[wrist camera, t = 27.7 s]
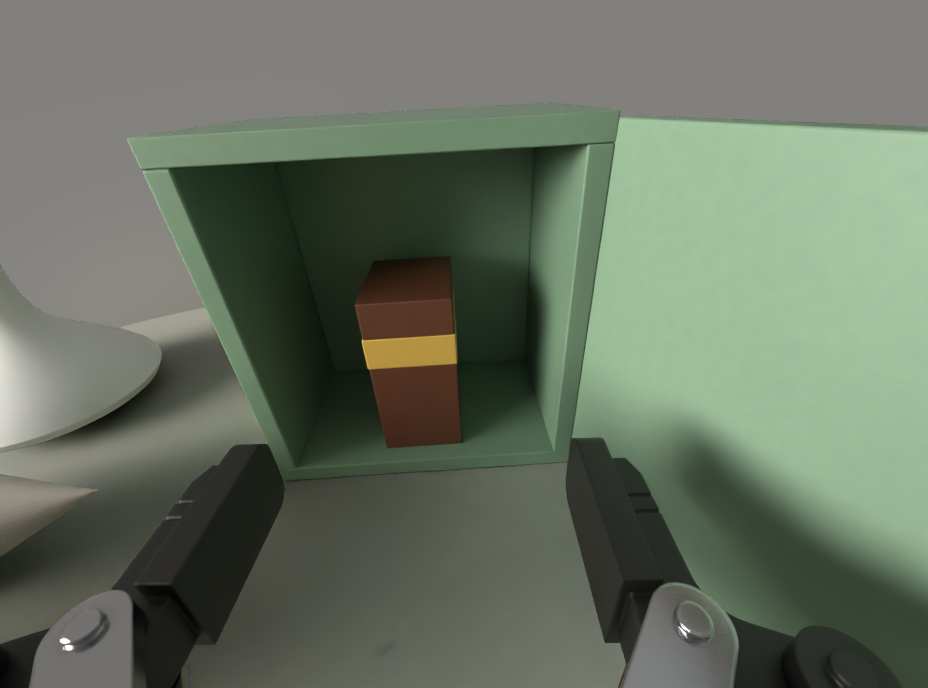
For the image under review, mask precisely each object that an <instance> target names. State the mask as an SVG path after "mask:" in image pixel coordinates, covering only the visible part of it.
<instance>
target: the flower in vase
mask: <svg viewBox="0 0 928 688" xmlns="http://www.w3.org/2000/svg"><path fill="white" fill-rule="evenodd" d="M161 357H162V352H161V349H160V347H159V346H158V345H156V344H155V343H154V342H153V341H151V340H150V339H149V338H147V337H146V336H144V335H141V334H138V333H135V332H131V331H128V330H124V329H121V328H115V327H110V326H105V325H99V324H93V323H87V322H81V321H75V320H70V319H65V318H60V317H57V316H54V315H50V314H47V313H45V312H43V311H41V310H40V309H38V308H36V307H35V306H33V305H32V304H31V303H30V302H29V301H28V300H27V299H26V298H25V297H24V296H23V295H22V294H21V293H20V292H19V290H18V289H17V288H16V287H15V285H14V284H13V283H12V282H11V280H10V279H9V277H8V276H7V274H6V273H5V271H4V270H3V268H2V267H1V265H0V453H1V452H6V451H11V450H16V449H20V448H24V447H28V446H31V445H35V444H38V443H41V442H45V441H48V440H50V439H53V438H56V437H59V436H62V435H64V434H66V433H69V432H71V431H74V430H76V429H78V428H81V427H83V426H85V425H87V424H89V423H91V422H93V421H95V420H97V419H99V418H101V417H103V416H105V415H107V414H108V413H110V412H112V411H113V410H115V409H117V408H118V407H120V406H121V405H123V404H124V403H126V402H127V401H129V400H130V399H132V398H133V397H134V396H135V395H137V394H138V393H139V392H140V391H141V390H143V389H144V388H145V387H146V386H147V385H148V384H149V383H150V382H151V380H152V379H153V378H154V376H155V375H156V373H157V371H158V369H159V366H160V362H161Z"/></svg>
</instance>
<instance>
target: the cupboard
mask: <svg viewBox="0 0 928 688" xmlns="http://www.w3.org/2000/svg"><path fill="white" fill-rule="evenodd" d="M619 117H620V110H619V109H610V108H601V107H590V106H580V105H571V104H560V103H534V104H516V105H498V106H481V107H462V108H444V109H427V110H410V111H391V112H374V113H356V114H338V115H321V116H304V117H285V118H268V119H251V120H244V121H237V122H230V123H223V124H217V125H210V126H203V127H196V128H189V129H182V130H175V131H168V132H161V133H154V134H147V135H140V136H134V137H128V138H127V141H128V143H129V145H130V147H131V149H132V151H133V154H134V156H135V158H136V160H137V162H138V164H139V167H140V168H141V169H142V170H144V171H143V174H144V176H145V178H146V181H147V183H148V185H149V187H150V189H151V191H152V194H153V196H154V198H155V200H156V202H157V204H158V207H159V209H160V211H161V213H162V215H163V218H164V220H165V222H166V224H167V226H168V228H169V231H170V233H171V235H172V237H173V239H174V241H175V243H176V246H177V248H178V250H179V252H180V254H181V257H182V259H183V261H184V263H185V265H186V267H187V270H188V272H189V274H190V276H191V278H192V280H193V283H194V285H195V287H196V289H197V291H198V293H199V295H200V298H201V300H202V302H203V304H204V306H205V309H206V311H207V313H208V315H209V317H210V319H211V322H212V324H213V326H214V328H215V330H216V332H217V335H218V337H219V339H220V341H221V343H222V345H223V348H224V350H225V352H226V354H227V356H228V358H229V361H230V363H231V365H232V367H233V369H234V371H235V374H236V376H237V378H238V380H239V382H240V384H241V387H242V389H243V391H244V393H245V395H246V397H247V400H248V402H249V404H250V406H251V408H252V410H253V413H254V415H255V417H256V419H257V421H258V423H259V426H260V428H261V430H262V432H263V434H264V437H265V439H266V441H267V443H268V445H269V447H270V449H271V451H272V454H273V456H274V458H275V460H276V463H277V465H278V467H279V468H280V471H281V474H282V476H283V478H284V480H286V481H287V480H302V479H317V478H332V477H347V476H362V475H377V474H392V473H407V472H422V471H437V470H452V469H467V468H482V467H497V466H512V465H527V464H542V463H557V462H568V458H569V451H570V444H571V440H572V433H573V426H574V420H575V413H576V406H577V399H578V393H579V386H580V379H581V372H582V365H583V359H584V352H585V345H586V338H587V331H588V325H589V318H590V311H591V304H592V298H593V291H594V284H595V277H596V270H597V264H598V257H599V250H600V243H601V236H602V230H603V223H604V216H605V209H606V203H607V196H608V189H609V182H610V175H611V169H612V162H613V155H614V148H615V144H614V142H615V141H616V137H617V130H618V123H619ZM444 256H450V257H451V271H452V285H453V288H454V301H455V317H456V336H457V354H458V373H459V388H460V407H461V425H462V443H459V444H445V445H430V446H415V447H400V448H387V446H386V442H385V437H384V433H383V428H382V424H381V419H380V415H379V411H378V406H377V402H376V397H375V393H374V388H373V384H372V379H371V375H370V370H369V369H368V367H367V363H366V359H365V354H364V350H363V345H362V335H361V330H360V326H359V321H358V317H357V312H356V308H355V304H356V302H357V299H358V297H359V294H360V292H361V289H362V287H363V285H364V282H365V280H366V277H367V275H368V273H369V270H370V268H371V265H372V263H373V261H378V260H395V259H411V258H427V257H444Z"/></svg>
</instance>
